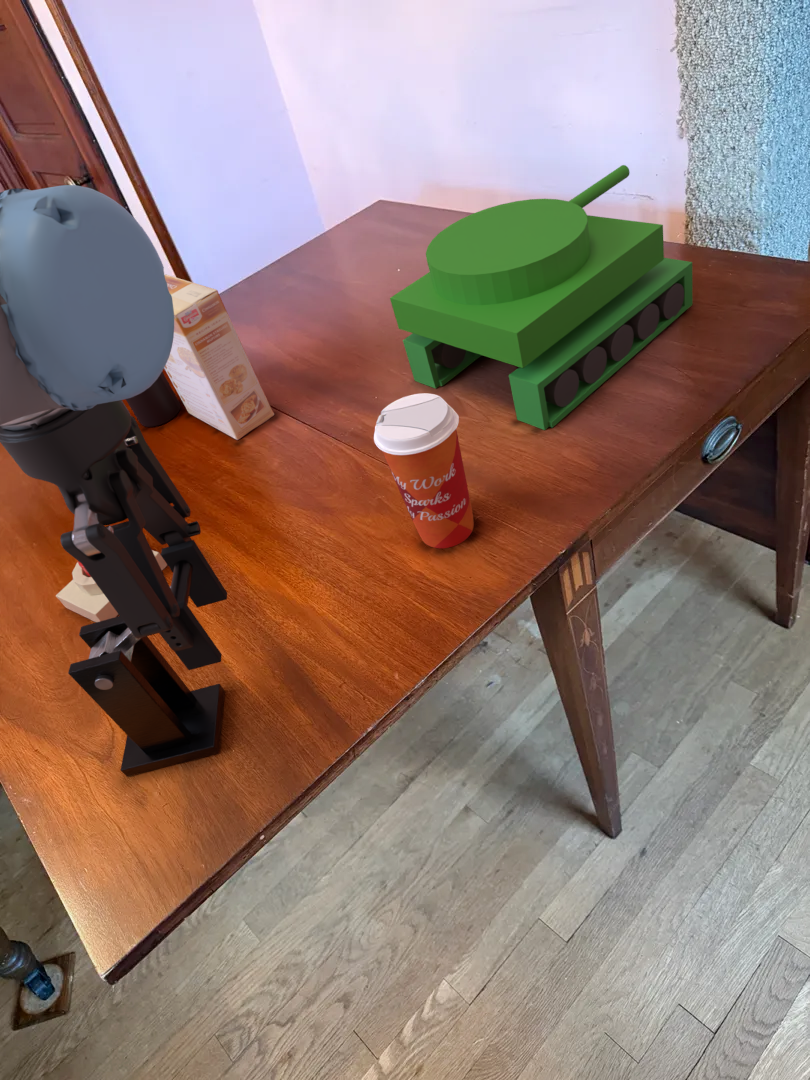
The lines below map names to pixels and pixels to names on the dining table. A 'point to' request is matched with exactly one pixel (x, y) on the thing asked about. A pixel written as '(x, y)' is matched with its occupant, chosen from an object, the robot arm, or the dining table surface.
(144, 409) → the bottle
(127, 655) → the switch lever
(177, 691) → the switch bracket
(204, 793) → the dining table surface
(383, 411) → the coffee cup
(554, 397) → the tank
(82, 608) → the button housing
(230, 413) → the coffeecake box
